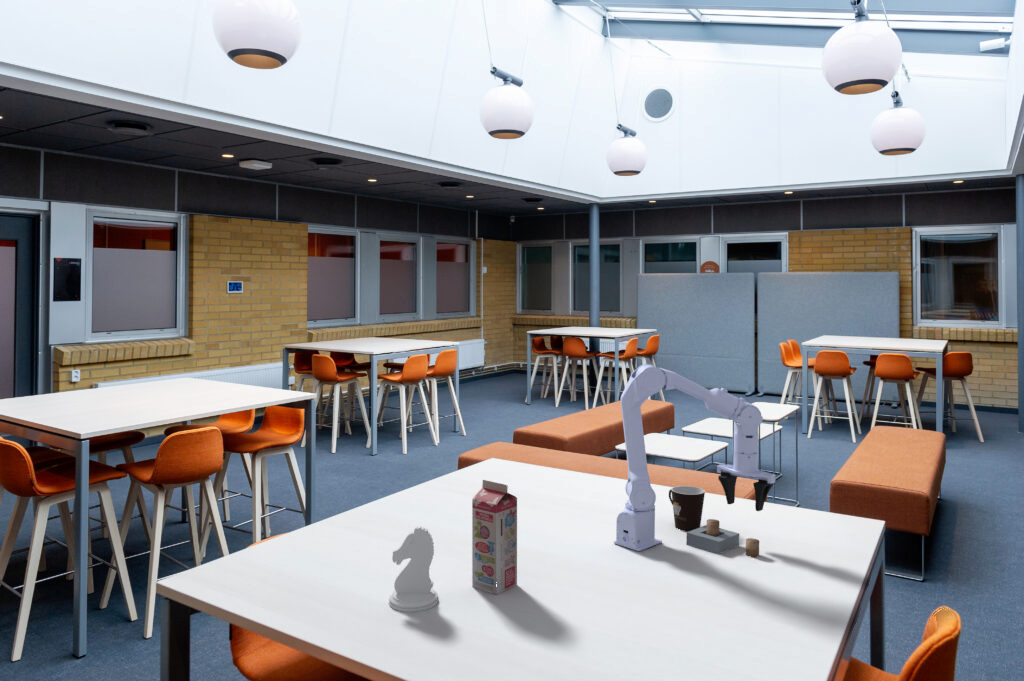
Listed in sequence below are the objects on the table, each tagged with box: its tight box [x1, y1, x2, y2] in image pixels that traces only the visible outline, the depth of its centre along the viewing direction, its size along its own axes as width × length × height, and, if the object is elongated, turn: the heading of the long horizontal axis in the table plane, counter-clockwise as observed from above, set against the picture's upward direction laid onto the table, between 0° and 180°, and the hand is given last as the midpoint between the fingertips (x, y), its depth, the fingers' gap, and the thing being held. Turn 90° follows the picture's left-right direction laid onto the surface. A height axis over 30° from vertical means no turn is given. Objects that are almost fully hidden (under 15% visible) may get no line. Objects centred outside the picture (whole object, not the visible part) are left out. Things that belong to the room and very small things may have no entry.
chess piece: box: [388, 526, 439, 613], centre depth 141 cm, size 10×10×15 cm
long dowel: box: [706, 518, 720, 537], centre depth 174 cm, size 3×3×6 cm
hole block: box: [685, 524, 740, 555], centre depth 174 cm, size 9×9×3 cm
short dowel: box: [745, 537, 760, 558], centre depth 168 cm, size 3×3×4 cm
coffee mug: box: [668, 485, 706, 532], centre depth 189 cm, size 12×9×10 cm
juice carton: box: [471, 479, 518, 596], centre depth 149 cm, size 7×7×22 cm
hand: (744, 506), depth 174 cm, fingers open, 7 cm apart
